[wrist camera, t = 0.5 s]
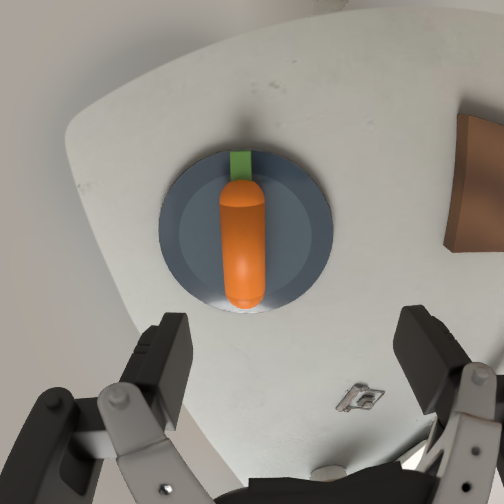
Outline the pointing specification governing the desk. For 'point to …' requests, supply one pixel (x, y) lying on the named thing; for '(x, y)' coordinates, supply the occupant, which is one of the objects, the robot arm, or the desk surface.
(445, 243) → the cutting board
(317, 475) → the coffee cup
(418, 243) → the desk surface
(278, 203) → the slate plate
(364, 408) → the metal mounting bracket
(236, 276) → the carrot
